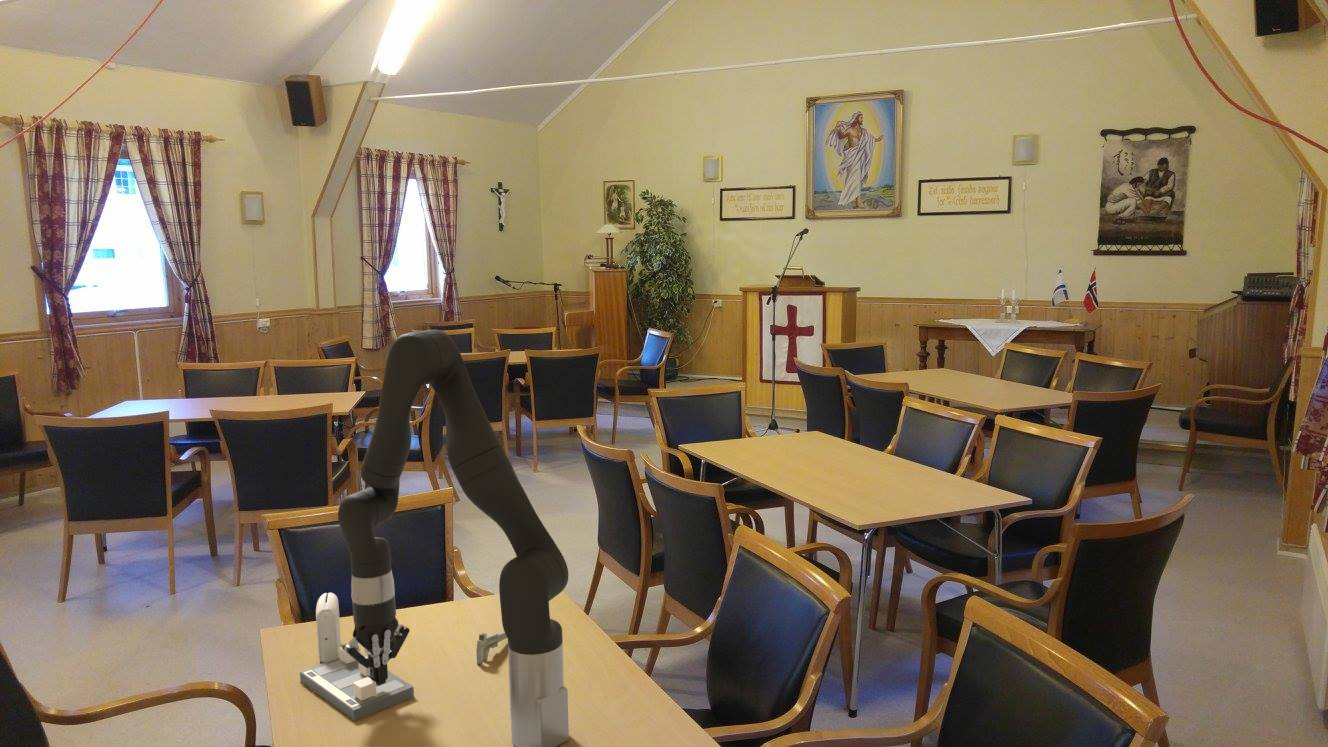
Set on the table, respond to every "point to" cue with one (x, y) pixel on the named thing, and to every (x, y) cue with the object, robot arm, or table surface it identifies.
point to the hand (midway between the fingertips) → (379, 683)
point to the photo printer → (328, 627)
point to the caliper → (487, 644)
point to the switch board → (338, 688)
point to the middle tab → (364, 670)
